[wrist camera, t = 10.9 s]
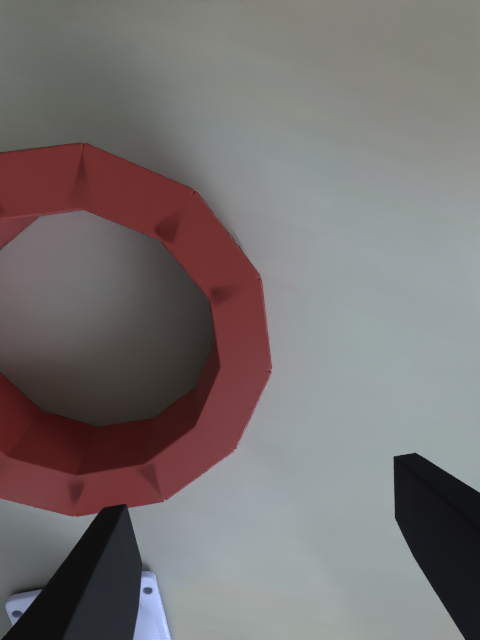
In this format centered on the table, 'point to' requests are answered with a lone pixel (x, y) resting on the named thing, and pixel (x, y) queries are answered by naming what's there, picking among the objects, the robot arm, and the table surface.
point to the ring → (187, 412)
